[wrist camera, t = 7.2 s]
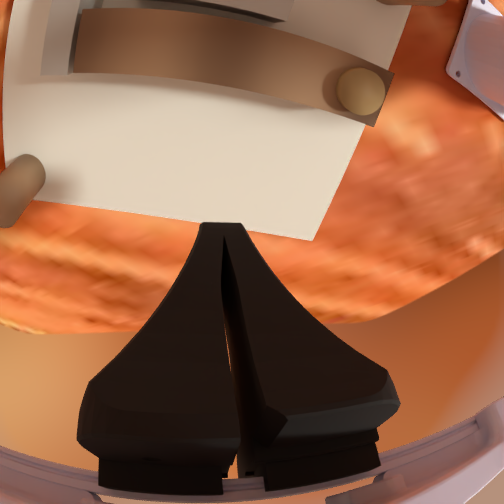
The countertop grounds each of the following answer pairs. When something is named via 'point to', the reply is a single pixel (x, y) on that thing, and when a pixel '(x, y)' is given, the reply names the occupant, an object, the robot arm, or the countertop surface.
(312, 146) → the white block puzzle board
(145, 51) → the hinged leg
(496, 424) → the robot arm
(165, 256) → the countertop surface
